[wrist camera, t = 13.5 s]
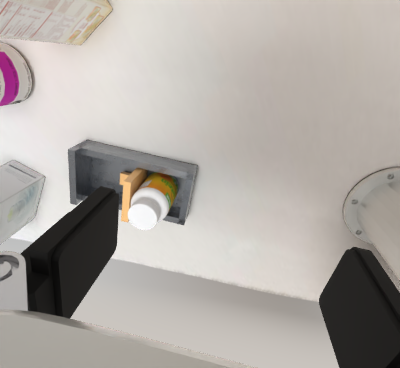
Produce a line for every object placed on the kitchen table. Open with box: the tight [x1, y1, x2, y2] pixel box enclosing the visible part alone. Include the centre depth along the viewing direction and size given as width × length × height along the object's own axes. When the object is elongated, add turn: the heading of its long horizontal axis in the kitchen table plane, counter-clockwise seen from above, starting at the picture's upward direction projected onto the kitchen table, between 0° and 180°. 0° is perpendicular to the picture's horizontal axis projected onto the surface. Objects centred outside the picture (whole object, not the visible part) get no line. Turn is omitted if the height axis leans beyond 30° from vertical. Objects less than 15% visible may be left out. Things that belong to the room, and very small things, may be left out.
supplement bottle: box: [128, 172, 179, 230], centre depth 37 cm, size 5×5×10 cm
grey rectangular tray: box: [68, 140, 198, 225], centre depth 40 cm, size 18×9×5 cm, turn 79°
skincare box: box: [0, 160, 45, 245], centre depth 42 cm, size 10×6×10 cm, turn 152°
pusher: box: [120, 168, 148, 222], centre depth 39 cm, size 4×6×7 cm, turn 169°
